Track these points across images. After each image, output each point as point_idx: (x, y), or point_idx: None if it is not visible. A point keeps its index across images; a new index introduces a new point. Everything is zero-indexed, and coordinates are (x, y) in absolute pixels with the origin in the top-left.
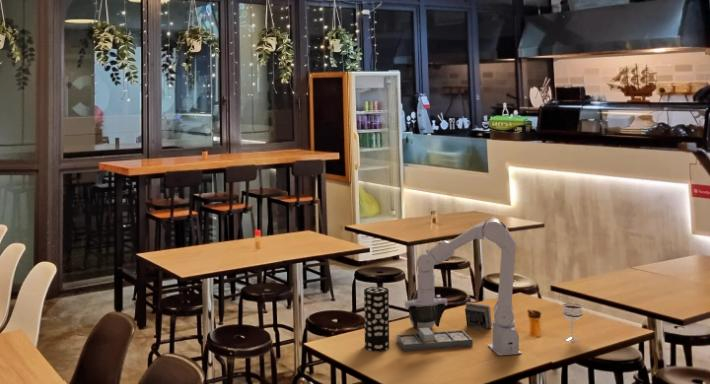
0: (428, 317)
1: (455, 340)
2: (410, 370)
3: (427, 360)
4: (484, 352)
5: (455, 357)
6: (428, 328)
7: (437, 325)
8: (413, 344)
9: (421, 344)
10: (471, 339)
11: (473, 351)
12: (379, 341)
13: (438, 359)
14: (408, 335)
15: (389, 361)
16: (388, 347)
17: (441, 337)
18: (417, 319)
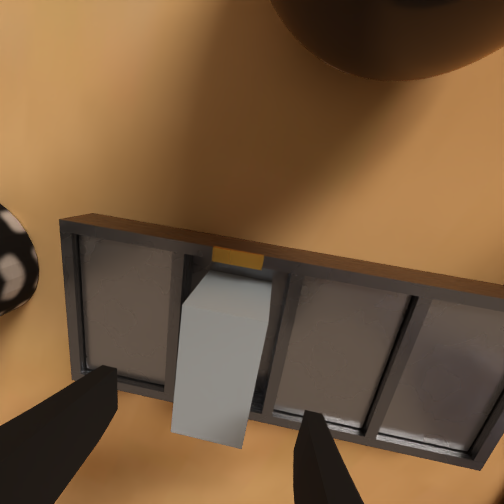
0: (428, 52)
1: (373, 440)
2: (83, 494)
3: (166, 461)
4: (444, 500)
5: (287, 484)
6: (256, 340)
7: (296, 466)
8: (123, 389)
9: (167, 397)
10: (475, 467)
11: (405, 474)
12: None
13: (211, 471)
14: (138, 243)
15: (23, 411)
16: (27, 296)
17: (333, 351)
18: (286, 5)
